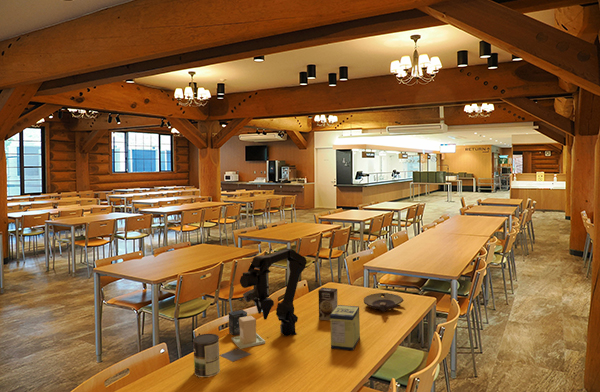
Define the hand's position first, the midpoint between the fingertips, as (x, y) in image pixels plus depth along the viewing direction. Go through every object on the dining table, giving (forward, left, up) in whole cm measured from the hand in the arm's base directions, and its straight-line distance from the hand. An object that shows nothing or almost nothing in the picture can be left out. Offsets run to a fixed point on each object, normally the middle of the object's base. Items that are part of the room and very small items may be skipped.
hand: (262, 316), depth 204 cm
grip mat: (+15, +7, -13) cm, 21 cm away
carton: (+6, -5, -13) cm, 15 cm away
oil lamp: (-76, -20, -13) cm, 80 cm away
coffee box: (-42, -18, -13) cm, 48 cm away
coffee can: (+29, +18, -13) cm, 37 cm away
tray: (+6, -5, -13) cm, 15 cm away
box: (+7, -19, -13) cm, 24 cm away
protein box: (-35, +16, -13) cm, 41 cm away
